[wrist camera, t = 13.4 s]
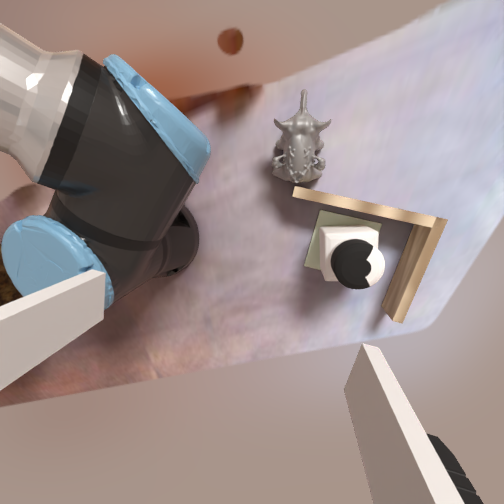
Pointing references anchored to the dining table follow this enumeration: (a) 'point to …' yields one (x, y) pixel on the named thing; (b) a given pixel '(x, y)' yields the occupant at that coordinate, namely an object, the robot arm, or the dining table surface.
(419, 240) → the corner arena
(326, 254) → the medicine bottle
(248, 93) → the dining table surface
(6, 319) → the robot arm
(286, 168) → the elephant statuette
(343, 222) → the pad
